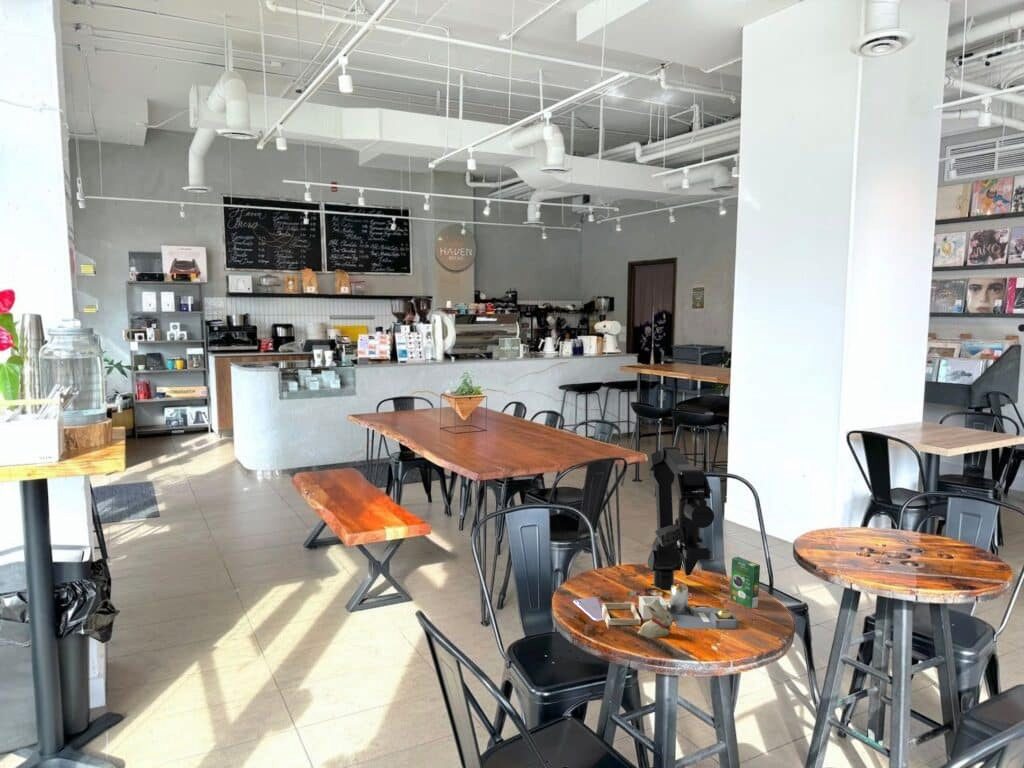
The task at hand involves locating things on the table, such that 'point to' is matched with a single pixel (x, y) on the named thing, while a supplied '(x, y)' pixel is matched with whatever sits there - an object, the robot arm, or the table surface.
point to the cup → (647, 600)
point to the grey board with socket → (703, 619)
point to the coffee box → (745, 582)
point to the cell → (679, 599)
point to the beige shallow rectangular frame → (620, 621)
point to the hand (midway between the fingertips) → (687, 574)
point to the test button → (724, 613)
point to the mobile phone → (591, 607)
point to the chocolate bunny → (657, 621)
